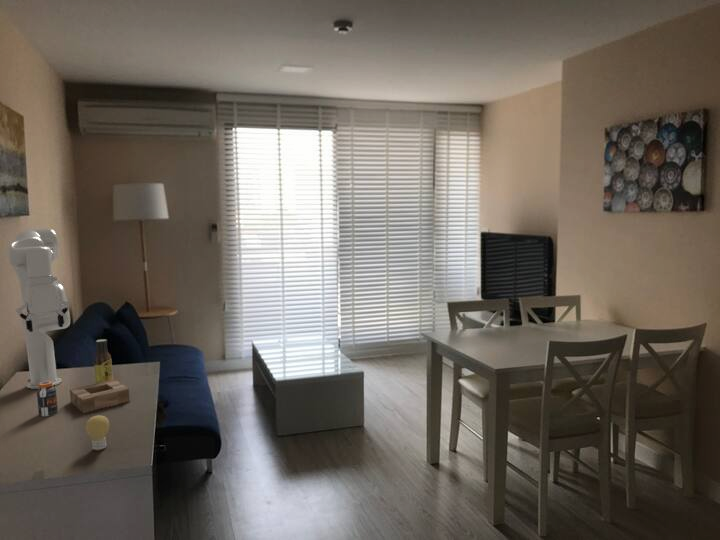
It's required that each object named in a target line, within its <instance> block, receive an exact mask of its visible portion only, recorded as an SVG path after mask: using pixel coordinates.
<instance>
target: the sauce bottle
mask: <svg viewBox="0 0 720 540" xmlns="http://www.w3.org/2000/svg"><path fill="white" fill-rule="evenodd" d="M95 346H96V354H95V356H94V359H93V362H94V365H93V367H94V377H95V384H96V383H101V382H105V381H110V380H114V375H113V364H112V363H113V361H112V356H111V354H110V353H109V351H108V339H105V338H104V339H103V338H102V339H97V340H95Z"/></svg>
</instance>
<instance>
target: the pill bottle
mask: <svg viewBox="0 0 720 540" xmlns="http://www.w3.org/2000/svg"><path fill="white" fill-rule="evenodd" d="M39 388H40V389H37V390H36V397H37V406H38V407H37V408H38V415H39V416H40V417H50V416H53V415H56V414H57V413H58V412H59V408H58V397H57V389H56V387H54V386H52V382H51V381H47V382H42V383H40V384H39Z"/></svg>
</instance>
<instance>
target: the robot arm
mask: <svg viewBox="0 0 720 540" xmlns="http://www.w3.org/2000/svg"><path fill="white" fill-rule="evenodd" d="M58 237H59V236H58V235H57V233H56V232H55V230H54V229H53V228H33V229H31V228H29V229H24V230H21V231H20V232H18V234H17V236H16V241H14V242H12V243H10V244H9V245H8V247H7V259H8V263H9V265H10V266H11V268H12V269H13V270H14V272H15V274H16V275H17V277H18V281H19V288H20V294H21V298H22V299H21V300H22V303H23V304H22V305H21V306H18V308H15V312H16V313H17V315H18V316H19V317H20V322H21V326H22V329H23V332H24V333H23V334H24V337H25V338H24V339H25V343H26V351H27V352H26V353H27V362H28V370H29V377H30V378H29V379H30V381H29V382H27V384H26V388H27V389H29V388H30V389H29V390H39V389H40V388H39V384H40V383H42V382H47V381H51V382H52V387H54V385H55V386H57V385H59V384H61V383H60V382H62V378H61V377H59V376H58V375H57V364H56V358H55V348H54V341H53V339H52V338H51V337H50V336H49V335H48V334H47V333H46V332H49V331H57V330H64V329H67V328H68V327H70V325H71V316H70V315H71V314H70V310H69V309H70V306H71V302H69V301H68V298H67V294H66V290H65V287H64V285H62V284H61V283H59V282H58V283H57V282H55V281H58V277H57V276H54V275H53V272H52V263H53V262H54V261H56V259H57V257H58V249H59V238H58ZM25 309H26V311H25V312H23V310H25Z"/></svg>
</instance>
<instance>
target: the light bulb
mask: <svg viewBox="0 0 720 540" xmlns="http://www.w3.org/2000/svg"><path fill="white" fill-rule="evenodd" d="M109 429H110V421H109V419H108V418H107V417H106V416H105V415H101V414H99V415H94V416H92V417H90V418H89V419H88V420H87V422H86V424H85V433H86V434H87V435H88V436H89V437H90V438H91V444H92V449H93V450H94V451H101V450H104V449H105V448H106V447H107V440H106V439H107V438H106V435H107V433H108V432H109Z"/></svg>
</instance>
